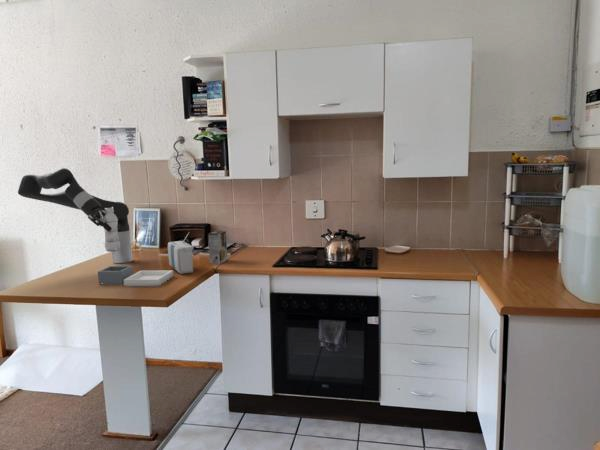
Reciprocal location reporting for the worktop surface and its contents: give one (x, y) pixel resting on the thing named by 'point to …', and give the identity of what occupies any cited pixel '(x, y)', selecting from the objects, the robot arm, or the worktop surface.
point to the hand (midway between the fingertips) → (114, 229)
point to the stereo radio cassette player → (180, 256)
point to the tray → (148, 278)
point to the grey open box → (114, 274)
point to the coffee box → (217, 247)
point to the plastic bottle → (112, 236)
